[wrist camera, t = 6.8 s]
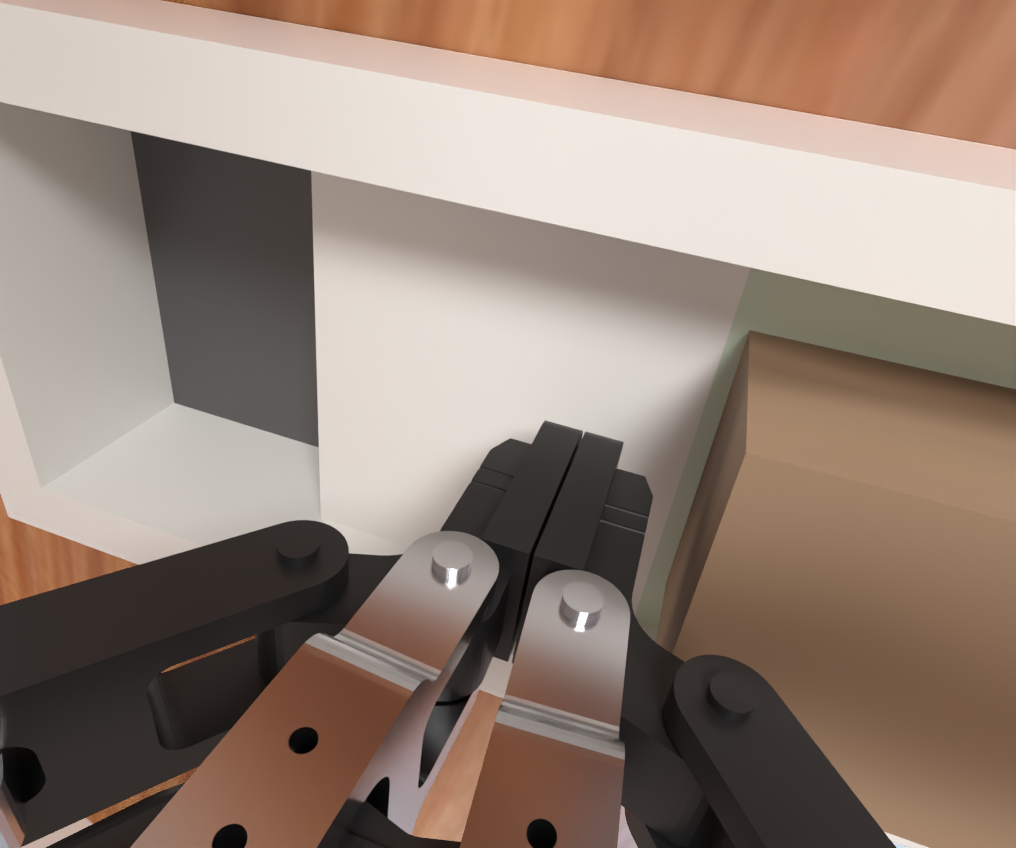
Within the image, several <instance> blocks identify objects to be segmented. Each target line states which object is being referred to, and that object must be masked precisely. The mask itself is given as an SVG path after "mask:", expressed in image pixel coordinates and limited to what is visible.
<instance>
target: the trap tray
mask: <svg viewBox="0 0 1016 848" xmlns="http://www.w3.org/2000/svg"><path fill="white" fill-rule="evenodd" d="M750 330H751V331H756V332H760V333H765V334H769V335H774V336H778V337H783V338H787V339H792V340H796V341H801V342H805V343H810V344H814V345H819V346H823V347H827V348H832V349H836V350H841V351H845V352H850V353H854V354H859V355H863V356H868V357H872V358H877V359H881V360H886V361H890V362H895V363H899V364H904V365H908V366H913V367H917V368H922V369H926V370H931V371H935V372H940V373H944V374H949V375H953V376H958V377H962V378H967V379H971V380H976V381H980V382H985V383H989V384H994V385H998V386H1003V387H1007V388H1012V389H1016V149H1010V148H1004V147H999V146H993V145H987V144H981V143H976V142H970V141H964V140H959V139H953V138H947V137H941V136H936V135H930V134H924V133H918V132H913V131H907V130H901V129H895V128H890V127H884V126H878V125H873V124H867V123H861V122H855V121H850V120H844V119H838V118H832V117H827V116H821V115H815V114H810V113H804V112H798V111H792V110H787V109H781V108H775V107H769V106H764V105H758V104H752V103H747V102H741V101H735V100H729V99H724V98H718V97H712V96H706V95H701V94H695V93H689V92H683V91H678V90H672V89H666V88H661V87H655V86H649V85H643V84H638V83H632V82H626V81H620V80H615V79H609V78H603V77H598V76H592V75H586V74H580V73H575V72H569V71H563V70H557V69H552V68H546V67H540V66H535V65H529V64H523V63H517V62H512V61H506V60H500V59H494V58H489V57H483V56H477V55H471V54H466V53H460V52H454V51H449V50H443V49H437V48H431V47H426V46H420V45H414V44H408V43H403V42H397V41H391V40H386V39H380V38H374V37H368V36H363V35H357V34H351V33H345V32H340V31H334V30H328V29H322V28H317V27H311V26H305V25H300V24H294V23H288V22H282V21H277V20H271V19H265V18H259V17H254V16H248V15H242V14H237V13H231V12H225V11H219V10H214V9H208V8H202V7H196V6H191V5H185V4H179V3H174V2H168V1H162V0H0V494H1V497H2V500H3V503H4V505H5V508H6V511H7V514H8V517H10V518H13V519H15V520H18V521H21V522H23V523H26V524H29V525H32V526H34V527H37V528H40V529H43V530H45V531H48V532H51V533H53V534H56V535H59V536H62V537H64V538H67V539H70V540H73V541H75V542H78V543H81V544H83V545H86V546H89V547H92V548H94V549H97V550H100V551H103V552H105V553H108V554H111V555H113V556H116V557H119V558H122V559H124V560H127V561H130V562H132V563H135V564H138V565H140V564H144V563H147V562H151V561H154V560H157V559H161V558H164V557H168V556H171V555H174V554H178V553H181V552H185V551H188V550H191V549H195V548H198V547H202V546H205V545H209V544H212V543H215V542H219V541H222V540H226V539H229V538H232V537H236V536H239V535H243V534H246V533H249V532H253V531H256V530H260V529H263V528H267V527H270V526H273V525H277V524H280V523H284V522H288V521H295V520H312V521H318V522H322V523H325V524H328V525H330V526H332V527H334V528H335V529H337V530H338V531H339V532H341V534H342V535H343V536H344V537H345V539H346V541H347V543H348V547H349V553H352V554H367V555H400V554H404V553H405V551H406V550H407V549H408V548H409V546H410V545H411V544H412V543H413V542H415V541H416V540H417V539H419V538H421V537H423V536H425V535H427V534H430V533H434V532H439V531H440V530H441V528H442V526H443V525H444V523H445V522H446V520H447V518H448V517H449V515H450V514H451V512H452V510H453V509H454V507H455V506H456V504H457V502H458V501H459V499H460V498H461V496H462V494H463V493H464V491H465V490H466V488H467V486H468V485H469V483H471V481H472V478H473V477H474V475H475V474H476V472H477V470H478V469H480V466H481V464H482V462H483V461H484V459H485V458H486V456H487V454H488V453H489V451H490V450H491V449H492V448H494V447H496V446H498V445H499V444H501V443H503V442H504V441H506V440H508V439H510V438H512V439H515V440H519V441H522V442H526V443H529V444H532V442H533V441H534V439H535V437H536V435H537V433H538V431H539V429H540V427H541V426H542V424H543V422H544V421H545V420H546V421H550V422H553V423H557V424H560V425H564V426H568V427H571V428H575V429H578V430H582V431H583V435H584V433H585V432H590V433H593V434H597V435H601V436H604V437H608V438H611V439H615V440H619V441H622V442H624V444H623V448H622V452H621V456H620V459H619V463H618V467H617V469H621V470H624V471H628V472H631V473H635V474H638V475H642V476H645V477H646V480H647V482H648V485H649V487H650V490H651V492H652V495H653V500H652V505H651V509H650V514H649V518H648V523H647V528H646V532H645V537H644V542H643V547H642V551H641V556H640V561H639V566H638V570H637V575H636V580H635V584H634V589H633V594H632V608H633V611H634V615H635V617H636V619H637V621H638V623H639V624H640V626H641V627H642V629H643V630H644V631H645V632H646V634H647V635H648V636H649V637H650V638H651V639H652V640H654V641H655V642H656V640H657V634H658V628H659V622H660V616H661V610H662V604H663V598H664V592H665V586H666V582H667V579H668V576H669V573H670V569H671V566H672V563H673V560H674V557H675V554H676V551H677V548H678V545H679V542H680V539H681V536H682V533H683V530H684V527H685V524H686V521H687V518H688V515H689V512H690V509H691V506H692V503H693V500H694V497H695V494H696V491H697V488H698V485H699V482H700V479H701V476H702V473H703V470H704V467H705V464H706V461H707V458H708V455H709V452H710V449H711V446H712V443H713V440H714V437H715V434H716V431H717V428H718V425H719V422H720V419H721V415H722V412H723V409H724V406H725V403H726V400H727V397H728V394H729V391H730V388H731V385H732V382H733V379H734V376H735V373H736V370H737V367H738V364H739V361H740V358H741V355H742V352H743V349H744V346H745V343H746V340H747V337H748V334H749V331H750ZM582 438H583V436H582ZM515 644H516V642H515ZM514 649H515V645H514V648H513V650H512V653H511V655H510V658H509V660H508V662H506V661H504V660H501V659H498V658H495V657H493V658H492V660H491V663H490V665H489V668H488V670H487V672H486V675H485V677H484V679H483V681H482V683H481V684H480V686H479V690H481V691H484V692H487V693H489V694H492V695H495V696H498V697H500V698H503V699H504V695H505V692H506V688H507V684H508V681H509V677H510V674H511V670H512V666H513V663H512V659H513V654H514ZM885 834H886V835H887V836H888V838H889V839H890V840H891V841H893V842H896V843H898V844H901V845H904V846H906V847H909V848H929V847H926V846H923V845H920V844H917V843H915V842H912V841H909V840H906V839H903V838H901V837H898V836H895V835H892V834H889V833H886V832H885Z"/></svg>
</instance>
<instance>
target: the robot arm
mask: <svg viewBox="0 0 1016 848" xmlns="http://www.w3.org/2000/svg"><path fill="white" fill-rule="evenodd" d="M582 436H583V438H582ZM623 444H624V442H622V441H619V440H615V439H611V438H608V437H604V436H601V435H597V434H593V433H590V432H585V433H584V435H583V431H582V430H578V429H575V428H571V427H568V426H564V425H560V424H557V423H553V422H550V421H546V420H545V421H544V422H543V424H542V426H541V427H540V429H539V431H538V433H537V435H536V437H535V439H534V441H533V442H532V444H529V443H526V442H522V441H519V440H515V439H512V438H510V439H508V440H506V441H504V442H503V443H501V444H499V445H498V446H496V447H494V448H492V449H491V450H490V451H489V453H488V454H487V456H486V458H485V459H484V461H483V462H482V464H481V466H480V469H478V470H477V472H476V474H475V475H474V477H473V478H472V481H471V483H469V485H468V486H467V488H466V490H465V491H464V493H463V494H462V496H461V498H460V499H459V501H458V502H457V504H456V506H455V507H454V509H453V510H452V512H451V514H450V515H449V517H448V518H447V520H446V522H445V523H444V525H443V526H442V528H441V530H440V531H439V532H434V533H430V534H427V535H425V536H423V537H421V538H419V539H417V540H416V541H415V542H413V543H412V544H411V545H410V546H409V548H408V549H407V550H406V551H405V553H404V554H400V555H367V554H352V553H349V547H348V543H347V541H346V539H345V537H344V536H343V535H342V534H341V532H339V531H338V530H337V529H335V528H334V527H332V526H330V525H328V524H325V523H322V522H318V521H312V520H295V521H288V522H284V523H280V524H277V525H273V526H270V527H267V528H263V529H260V530H256V531H253V532H249V533H246V534H243V535H239V536H236V537H232V538H229V539H226V540H222V541H219V542H215V543H212V544H209V545H205V546H202V547H198V548H195V549H191V550H188V551H185V552H181V553H178V554H174V555H171V556H168V557H164V558H161V559H157V560H154V561H151V562H147V563H144V564H140V565H137V566H133V567H130V568H127V569H123V570H120V571H116V572H113V573H110V574H106V575H103V576H99V577H96V578H93V579H89V580H86V581H82V582H79V583H75V584H72V585H69V586H65V587H62V588H58V589H55V590H52V591H48V592H45V593H41V594H38V595H35V596H31V597H28V598H24V599H21V600H17V601H14V602H11V603H7V604H4V605H0V848H21V847H22V846H24V845H27V844H29V843H31V842H33V841H35V840H37V839H40V838H42V837H44V836H46V835H48V834H51V833H53V832H55V831H57V830H59V829H62V828H64V827H66V826H68V825H70V824H72V823H75V822H77V821H79V820H81V819H84V818H86V817H88V816H90V815H92V814H95V813H97V812H99V811H101V810H103V809H106V808H108V807H110V806H112V805H114V804H117V803H119V802H121V801H123V800H125V799H128V798H130V797H132V796H134V795H136V794H138V793H141V792H143V791H145V790H147V789H149V788H152V787H154V786H156V785H158V784H160V783H163V782H165V781H167V780H169V779H171V778H174V777H176V776H178V775H180V774H182V773H185V772H187V771H189V770H191V769H193V768H196V767H198V766H199V767H198V768H197V770H196V771H195V772H194V773H193V774H192V775H191V777H190V778H189V779H188V780H187V781H186V782H185V783H183V784H180V785H177V786H174V787H172V788H169V789H166V790H163V791H161V792H158V793H156V794H154V795H152V796H149V797H147V798H145V799H143V800H141V801H139V802H137V803H135V804H133V805H131V806H129V807H127V808H125V809H123V810H121V811H119V812H117V813H115V814H113V815H111V816H109V817H107V818H105V819H103V820H101V821H99V822H97V823H95V824H93V825H91V826H88V827H86V828H84V829H82V830H80V831H79V832H77V833H74V834H73V835H70V836H68V837H66V838H64V839H62V840H60V841H58V842H56V843H54V844H52V845H50V846H48V847H46V848H617V842H618V831H619V820H620V809H621V805H622V806H623V807H625V816H626V821H627V824H628V827H629V829H630V832H631V834H632V836H633V838H634V840H635V842H636V844H637V846H638V848H896V847H895V845H894V844H893V843H892V842H891V840H890V839H889V838H888V836H887V835H886V834H885V832H884V831H883V830H882V829H881V827H880V826H879V825H878V823H877V822H876V821H875V820H874V818H873V817H872V816H871V814H870V813H869V812H868V810H867V809H866V808H865V807H864V805H863V804H862V803H861V801H860V800H859V799H858V797H857V796H856V795H855V794H854V792H853V791H852V790H851V788H850V787H849V786H848V785H847V783H846V782H845V781H844V779H843V778H842V777H841V775H840V774H839V773H838V772H837V770H836V769H835V768H834V766H833V765H832V764H831V762H830V761H829V760H828V759H827V757H826V756H825V755H824V753H823V752H822V751H821V750H820V748H819V747H818V746H817V744H816V743H815V742H814V740H813V739H812V738H811V737H810V735H809V734H808V733H807V731H806V730H805V729H804V727H803V726H802V725H801V724H800V722H799V721H798V720H797V718H796V717H795V716H794V715H793V713H792V712H791V711H790V709H789V708H788V707H787V705H786V704H785V703H784V702H783V700H782V699H781V698H780V696H779V695H778V694H777V692H776V691H775V690H774V689H773V687H772V686H771V685H770V684H769V683H768V682H767V680H765V679H764V678H763V677H762V676H761V675H760V674H759V673H757V672H756V671H755V670H753V669H752V668H750V667H749V666H747V665H745V664H743V663H742V662H739V661H737V660H735V659H732V658H729V657H725V656H720V655H700V656H696V657H693V658H691V659H689V660H687V661H686V662H684V661H683V660H681V659H680V658H678V657H676V656H675V655H673V654H672V653H670V652H669V651H667V650H665V649H664V648H663V647H661V646H660V645H658V644H657V643H656V642H655V641H654V640H652V639H651V638H650V637H649V636H648V635H647V634H646V632H645V631H644V630H643V629H642V627H641V626H640V624H639V623H638V621H637V619H636V617H635V615H634V611H633V608H632V594H633V589H634V584H635V580H636V575H637V570H638V566H639V561H640V556H641V551H642V547H643V542H644V537H645V532H646V528H647V523H648V518H649V514H650V509H651V505H652V500H653V495H652V492H651V490H650V487H649V485H648V482H647V480H646V477H645V476H642V475H638V474H635V473H631V472H628V471H624V470H621V469H617V467H618V463H619V459H620V456H621V452H622V448H623ZM253 635H255V639H252V640H250V641H247V642H245V643H242V644H239V645H237V646H234V647H231V648H229V649H226V650H223V651H221V652H218V653H215V654H213V655H210V656H207V657H205V658H202V659H199V660H197V661H194V662H191V663H189V664H186V665H183V666H181V667H178V668H175V669H173V670H170V671H167V672H164V673H161V672H162V671H164V670H165V669H167V668H169V667H171V666H173V665H176V664H178V663H181V662H184V661H186V660H189V659H192V658H195V657H197V656H200V655H203V654H205V653H208V652H211V651H213V650H216V649H219V648H221V647H224V646H227V645H229V644H232V643H235V642H237V641H240V640H243V639H245V638H248V637H251V636H253ZM515 642H516V644H515ZM514 645H515V649H514V654H513V659H512V663H513V666H512V670H511V674H510V677H509V681H508V684H507V688H506V692H505V695H504V699H503V702H502V705H500V707H499V710H498V713H497V716H496V719H495V723H494V726H493V730H492V733H491V737H490V740H489V744H488V748H487V751H486V755H485V758H484V762H483V766H482V769H481V773H480V776H479V780H478V783H477V787H476V791H475V794H474V798H473V801H472V805H471V808H470V812H469V816H468V819H467V823H466V826H465V830H464V834H463V837H462V841H461V842H455V841H446V840H438V839H429V838H420V837H415V836H413V835H412V832H413V829H414V825H415V822H416V819H417V816H418V814H419V811H420V809H421V806H422V804H423V802H424V800H425V798H426V796H427V794H428V792H429V790H430V788H431V786H432V784H433V782H434V780H435V778H436V776H437V774H438V772H439V770H440V769H441V767H442V765H443V763H444V761H445V759H446V757H447V755H448V753H449V751H450V749H451V747H452V745H453V743H454V741H455V739H456V738H457V736H458V734H459V732H460V730H461V728H462V726H463V724H464V722H465V720H466V718H467V716H468V714H469V712H470V710H471V708H472V707H473V705H474V703H475V701H476V698H477V696H478V691H479V686H480V684H481V683H482V681H483V679H484V677H485V675H486V672H487V670H488V668H489V665H490V663H491V660H492V658H493V657H495V658H498V659H501V660H504V661H506V662H508V660H509V658H510V655H511V653H512V650H513V648H514Z"/></svg>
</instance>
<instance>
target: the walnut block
mask: <svg viewBox="0 0 1016 848" xmlns="http://www.w3.org/2000/svg"><path fill="white" fill-rule="evenodd" d="M656 643H657V644H658V645H660V646H661V647H663V648H664V649H665V650H667V651H669V652H670V653H672V654H673V655H675V656H676V657H678V658H680V659H681V660H683V661H684V662H686V661H687V660H689V659H691V658H693V657H696V656H700V655H720V656H725V657H729V658H732V659H735V660H737V661H739V662H742V663H743V664H745V665H747V666H749V667H750V668H752V669H753V670H755V671H756V672H757V673H759V674H760V675H761V676H762V677H763V678H764V679H765V680H767V682H768V683H769V684H770V685H771V686H772V687H773V689H774V690H775V691H776V692H777V694H778V695H779V696H780V698H781V699H782V700H783V702H784V703H785V704H786V705H787V707H788V708H789V709H790V711H791V712H792V713H793V715H794V716H795V717H796V718H797V720H798V721H799V722H800V724H801V725H802V726H803V727H804V729H805V730H806V731H807V733H808V734H809V735H810V737H811V738H812V739H813V740H814V742H815V743H816V744H817V746H818V747H819V748H820V750H821V751H822V752H823V753H824V755H825V756H826V757H827V759H828V760H829V761H830V762H831V764H832V765H833V766H834V768H835V769H836V770H837V772H838V773H839V774H840V775H841V777H842V778H843V779H844V781H845V782H846V783H847V785H848V786H849V787H850V788H851V790H852V791H853V792H854V794H855V795H856V796H857V797H858V799H859V800H860V801H861V803H862V804H863V805H864V807H865V808H866V809H867V810H868V812H869V813H870V814H871V816H872V817H873V818H874V820H875V821H876V822H877V823H878V825H879V826H880V827H881V829H882V830H883V831H884V832H886V833H889V834H892V835H895V836H898V837H901V838H903V839H906V840H909V841H912V842H915V843H917V844H920V845H923V846H926V847H929V848H1016V389H1012V388H1007V387H1003V386H998V385H994V384H989V383H985V382H980V381H976V380H971V379H967V378H962V377H958V376H953V375H949V374H944V373H940V372H935V371H931V370H926V369H922V368H917V367H913V366H908V365H904V364H899V363H895V362H890V361H886V360H881V359H877V358H872V357H868V356H863V355H859V354H854V353H850V352H845V351H841V350H836V349H832V348H827V347H823V346H819V345H814V344H810V343H805V342H801V341H796V340H792V339H787V338H783V337H778V336H774V335H769V334H765V333H760V332H756V331H751V330H750V331H749V334H748V337H747V340H746V343H745V346H744V349H743V352H742V355H741V358H740V361H739V364H738V367H737V370H736V373H735V376H734V379H733V382H732V385H731V388H730V391H729V394H728V397H727V400H726V403H725V406H724V409H723V412H722V415H721V419H720V422H719V425H718V428H717V431H716V434H715V437H714V440H713V443H712V446H711V449H710V452H709V455H708V458H707V461H706V464H705V467H704V470H703V473H702V476H701V479H700V482H699V485H698V488H697V491H696V494H695V497H694V500H693V503H692V506H691V509H690V512H689V515H688V518H687V521H686V524H685V527H684V530H683V533H682V536H681V539H680V542H679V545H678V548H677V551H676V554H675V557H674V560H673V563H672V566H671V569H670V573H669V576H668V579H667V582H666V586H665V592H664V598H663V604H662V610H661V616H660V622H659V628H658V634H657V640H656Z"/></svg>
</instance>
